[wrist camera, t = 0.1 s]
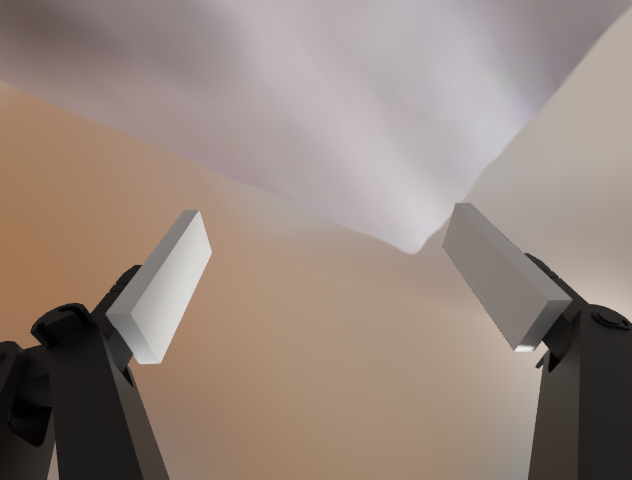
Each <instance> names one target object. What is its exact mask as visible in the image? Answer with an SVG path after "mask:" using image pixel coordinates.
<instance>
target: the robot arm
mask: <svg viewBox="0 0 632 480" xmlns="http://www.w3.org/2000/svg"><path fill="white" fill-rule="evenodd" d="M442 247H443V248H444V250H445V251H446V253H447V254H448V256H449V257H450V258H451V260H452V261H453V263H454V264H455V266H456V267H457V269H458V270H459V272H460V273H461V275H462V276H463V277H464V279H465V281H466V282H467V283H468V285H469V286H470V288H471V289H472V291H473V292H474V294H475V295H476V296H477V298H478V299H479V301H480V302H481V304H482V305H483V307H484V308H485V310H486V311H487V313H488V314H489V316H490V317H491V318H492V320H493V321H494V323H495V324H496V326H497V327H498V329H499V330H500V332H501V333H502V335H503V336H504V337H505V339H506V340H507V342H508V343H509V345H510V346H511V348H512V349H513V350H514V351H534V350H535V349H536V348H537V347H538V345H539V344H540V343H541V341H543V342H544V343H545V345H546V346H547V347H548V348H549V349H548V351H547V352H546V353H545V354H544V356H543V357H542V358H541V359H540V361H539V362H538V363H537V365H536V368H540V367H541V366H542V365H543V370H542V379H541V386H540V394H539V400H538V408H537V415H536V423H535V431H534V438H533V446H532V453H531V461H530V468H529V476H528V480H632V323H631V322H630V321H628V320H627V319H626V318H625V317H624V316H622V315H621V314H619V313H618V312H616V311H613V310H611V309H609V308H607V307H604V306H600V305H594V304H588V303H587V302H586V301H585V300H584V299H583V298H582V297H581V296H579V295H578V294H577V293H576V292H575V291H574V290H573V289H572V288H571V287H570V286H568V285H567V284H566V283H565V282H564V281H563V280H562V279H561V278H558V276H557V275H556V274H555V273H554V272H553V271H551V269H550V268H549V267H547V266H546V265H545V264H544V263H543V262H542V261H541V260H539V259H537V258H535V257H533V256H532V255H530V254H528V253H523V252H522V251H521V250H520V249H519V248H518V247H516V246H515V245H514V244H513V243H512V242H511V241H510V240H509V239H508V238H507V237H506V236H505V235H504V234H503V233H502V232H501V231H500V230H498V229H497V228H496V227H495V226H494V225H493V224H492V223H491V222H490V221H489V220H488V219H487V218H486V217H485V216H484V215H482V214H481V213H480V212H479V211H478V210H477V209H476V208H475V207H474V206H473V205H472V204H471V203H456V204H455V207H454V210H453V213H452V217H451V220H450V223H449V227H448V230H447V233H446V236H445V239H444V243H443V246H442ZM211 254H212V252H211V249H210V246H209V242H208V238H207V235H206V232H205V228H204V225H203V221H202V218H201V214H200V211H199V210H184V211H183V212H182V214H181V215H180V216H179V218H178V219H177V220H176V222H175V223H174V224H173V226H172V227H171V228H170V230H169V231H168V232H167V233H166V235H165V236H164V237H163V239H162V240H161V241H160V243H159V244H158V245H157V247H156V248H155V249H154V250H153V252H152V253H151V255H150V256H149V257H148V258H147V260H146V261H145V262H144V264H143V265H134V266H133V267H132V268H131V269H129V270H127V271H126V272H125V273H123V275H122V276H121V277H120V278H119V279H118V281H117V282H116V285H114V286H113V287H112V288H111V289H110V292H109V293H107V294H106V295H105V297H104V298H103V299H102V300H101V302H100V303H99V304H98V305H97V306H96V308H95V309H94V310H93V311H92V313H91V314H90V313H89V312H88V310H87V309H86V308H85V306H84V305H83V304H79V303H71V304H66V305H63V306H59V307H57V308H55V309H53V310H51V311H49V312H47V313H46V314H44V315H43V316H42V317H40V318H39V319H38V320H37V321H36V322H35V324H34V325H33V326H32V329H31V332H30V333H31V334H32V335H33V336H34V337H35V338H36V339H37V340H38V341H39V342H40V343H41V344H42V345H38V346H34V347H31V348H27V349H22V348H21V347H20V346H19V345H18V344H17V343H16V342H13V341H5V342H0V480H47V477H48V472H49V467H50V463H51V458H52V453H53V449H54V444H55V440H56V449H57V460H58V472H59V480H170V479H169V476H168V474H167V471H166V468H165V465H164V462H163V459H162V457H161V454H160V451H159V448H158V445H157V442H156V440H155V437H154V434H153V431H152V428H151V426H150V423H149V420H148V417H147V414H146V411H145V408H144V406H143V403H142V400H141V397H140V394H139V392H138V389H137V386H136V383H135V380H134V378H133V375H132V372H131V369H130V368H129V367H128V363H129V361H130V359H131V358H132V356H133V355H134V357H135V358H136V360H137V361H138V363H139V364H154V363H155V364H156V363H161V361H162V359H163V357H164V355H165V352H166V350H167V348H168V346H169V344H170V342H171V339H172V337H173V335H174V333H175V331H176V329H177V327H178V324H179V322H180V320H181V318H182V316H183V314H184V312H185V309H186V307H187V305H188V303H189V301H190V298H191V296H192V294H193V292H194V290H195V288H196V286H197V283H198V281H199V279H200V277H201V275H202V273H203V270H204V269H205V266H206V264H207V262H208V260H209V258H210V256H211Z"/></svg>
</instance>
